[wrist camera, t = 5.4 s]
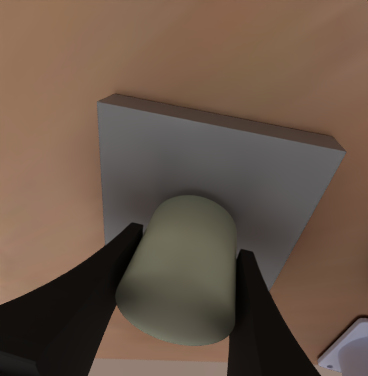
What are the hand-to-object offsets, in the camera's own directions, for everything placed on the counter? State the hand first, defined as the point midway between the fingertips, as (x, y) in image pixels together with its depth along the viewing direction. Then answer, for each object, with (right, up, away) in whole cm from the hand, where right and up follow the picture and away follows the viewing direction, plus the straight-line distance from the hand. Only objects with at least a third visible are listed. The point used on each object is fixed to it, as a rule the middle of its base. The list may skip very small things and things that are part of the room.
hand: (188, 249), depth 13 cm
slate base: (+1, +2, +4) cm, 4 cm away
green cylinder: (0, +1, +1) cm, 2 cm away
